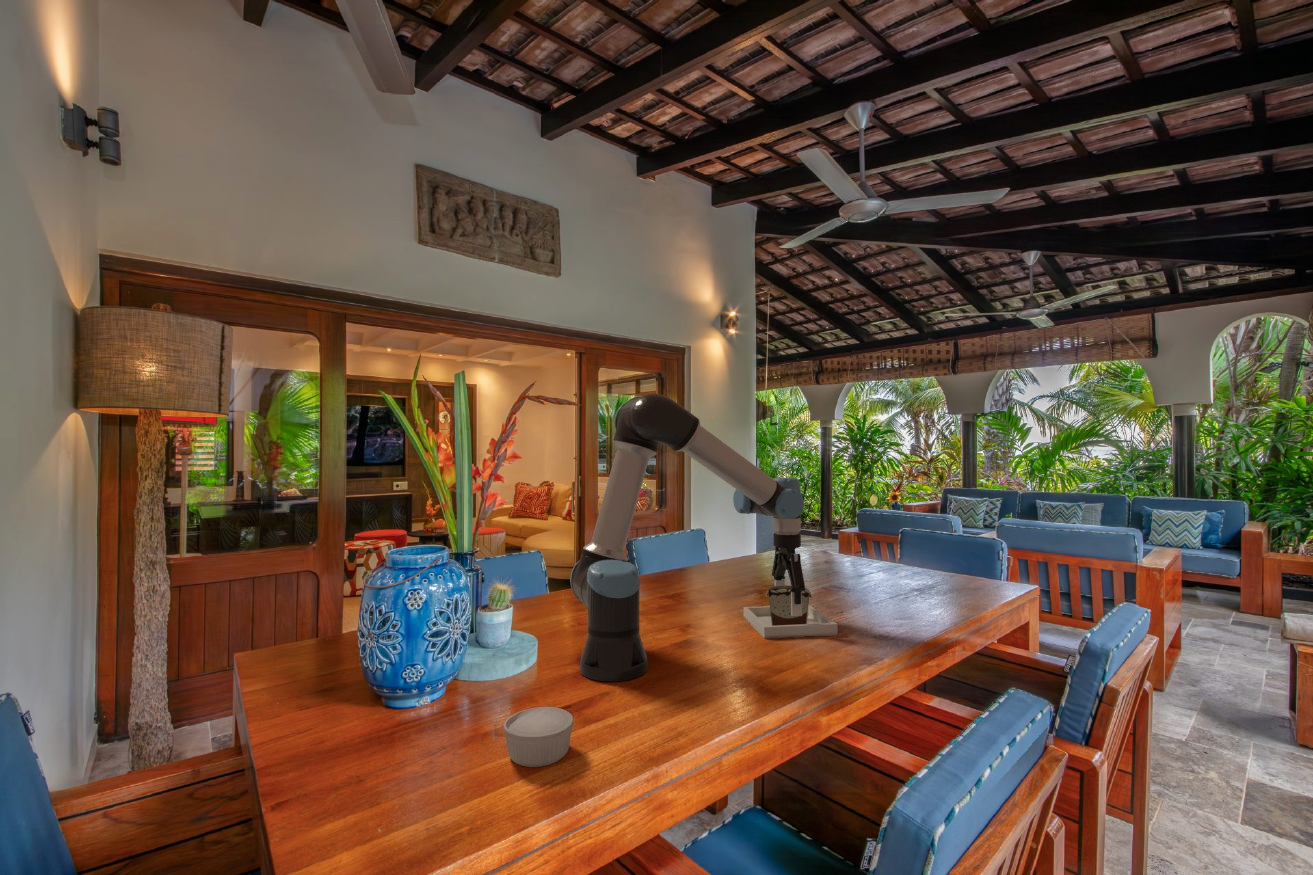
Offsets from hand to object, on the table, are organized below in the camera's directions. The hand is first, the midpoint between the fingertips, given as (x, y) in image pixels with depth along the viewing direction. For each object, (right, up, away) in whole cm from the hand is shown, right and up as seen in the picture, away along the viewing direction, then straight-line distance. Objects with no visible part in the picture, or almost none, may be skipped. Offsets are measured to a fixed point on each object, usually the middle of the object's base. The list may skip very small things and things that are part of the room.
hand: (787, 609), depth 164 cm
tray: (0, -5, 0) cm, 5 cm away
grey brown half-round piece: (0, -4, 0) cm, 4 cm away
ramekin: (-56, -4, -69) cm, 89 cm away
